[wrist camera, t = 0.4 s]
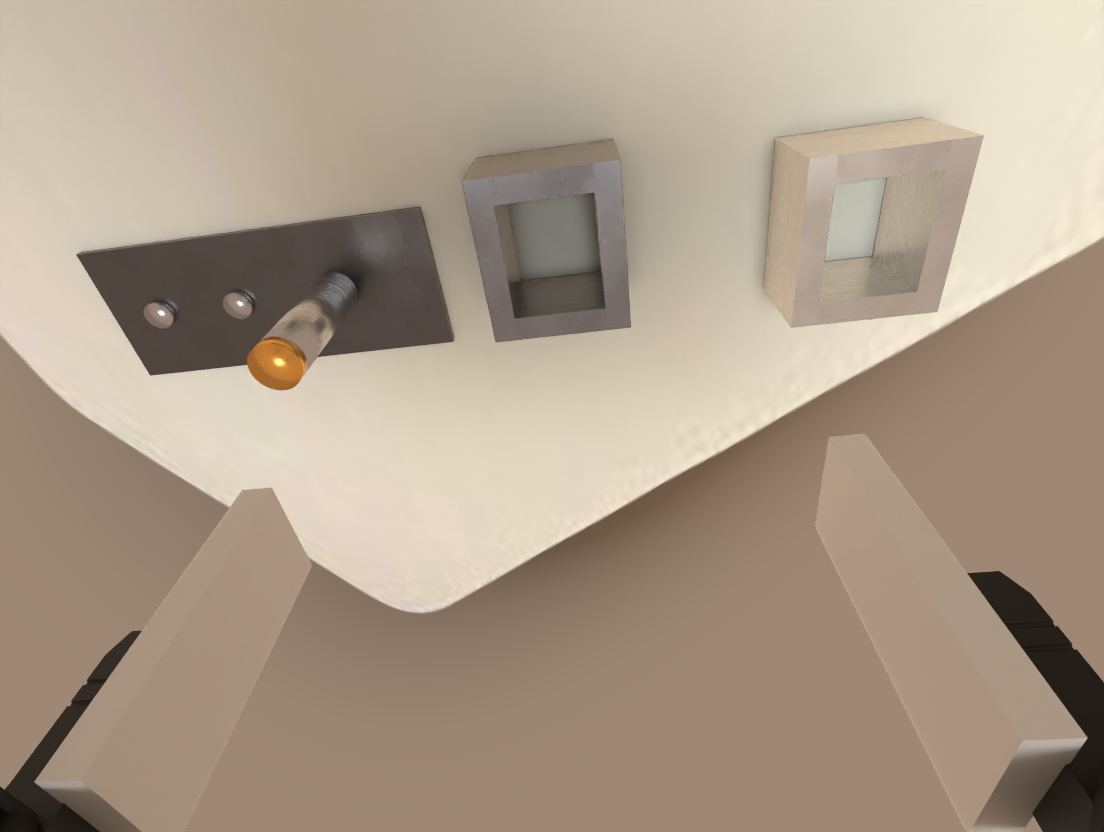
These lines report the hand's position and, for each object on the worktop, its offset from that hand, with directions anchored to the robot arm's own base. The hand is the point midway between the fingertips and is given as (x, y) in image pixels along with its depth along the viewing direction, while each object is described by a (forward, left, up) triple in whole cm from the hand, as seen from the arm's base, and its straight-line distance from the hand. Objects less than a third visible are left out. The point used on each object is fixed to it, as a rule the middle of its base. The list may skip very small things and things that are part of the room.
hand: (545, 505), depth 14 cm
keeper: (+2, -17, -22) cm, 28 cm away
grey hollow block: (0, 0, -22) cm, 22 cm away
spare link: (+1, +15, -22) cm, 26 cm away
